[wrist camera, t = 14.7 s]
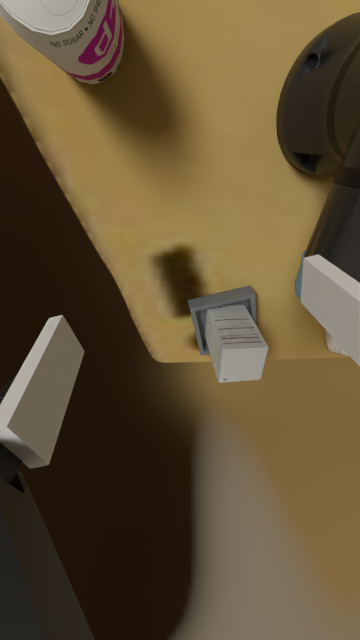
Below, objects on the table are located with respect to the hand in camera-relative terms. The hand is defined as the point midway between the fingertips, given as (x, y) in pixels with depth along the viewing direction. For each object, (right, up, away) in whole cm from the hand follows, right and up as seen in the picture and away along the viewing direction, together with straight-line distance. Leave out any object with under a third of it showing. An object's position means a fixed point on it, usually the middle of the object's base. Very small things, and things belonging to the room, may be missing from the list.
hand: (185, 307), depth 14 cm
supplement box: (+8, 0, +36) cm, 37 cm away
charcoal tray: (+8, 0, +36) cm, 37 cm away
